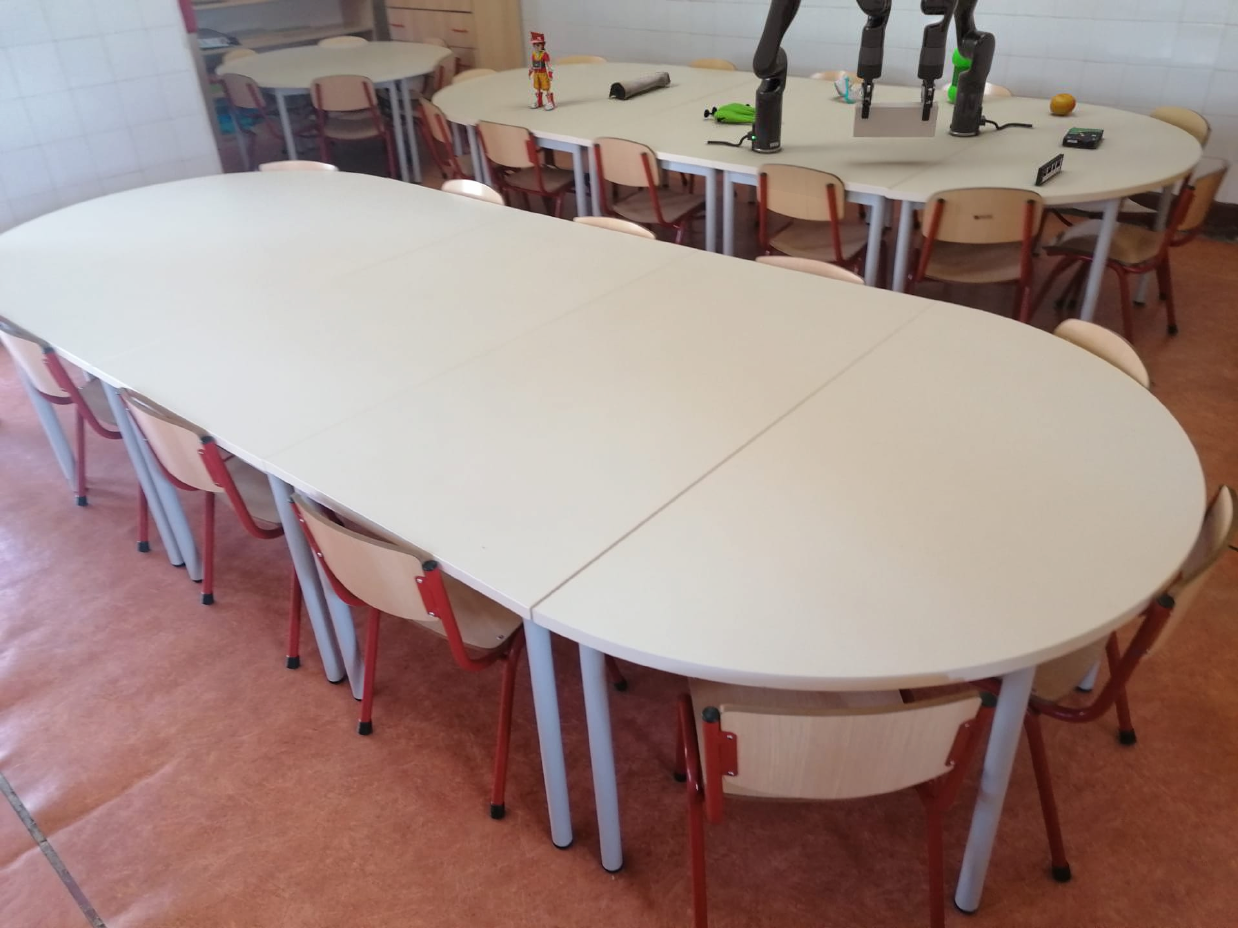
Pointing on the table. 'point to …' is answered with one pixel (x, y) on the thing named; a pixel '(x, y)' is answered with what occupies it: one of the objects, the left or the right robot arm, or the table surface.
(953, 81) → the green tall lumpy piece
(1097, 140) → the disk drive
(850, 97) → the anatomical model
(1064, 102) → the fruit
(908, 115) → the box
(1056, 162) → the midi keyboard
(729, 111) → the toy
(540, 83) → the toy
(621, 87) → the rolled mat
